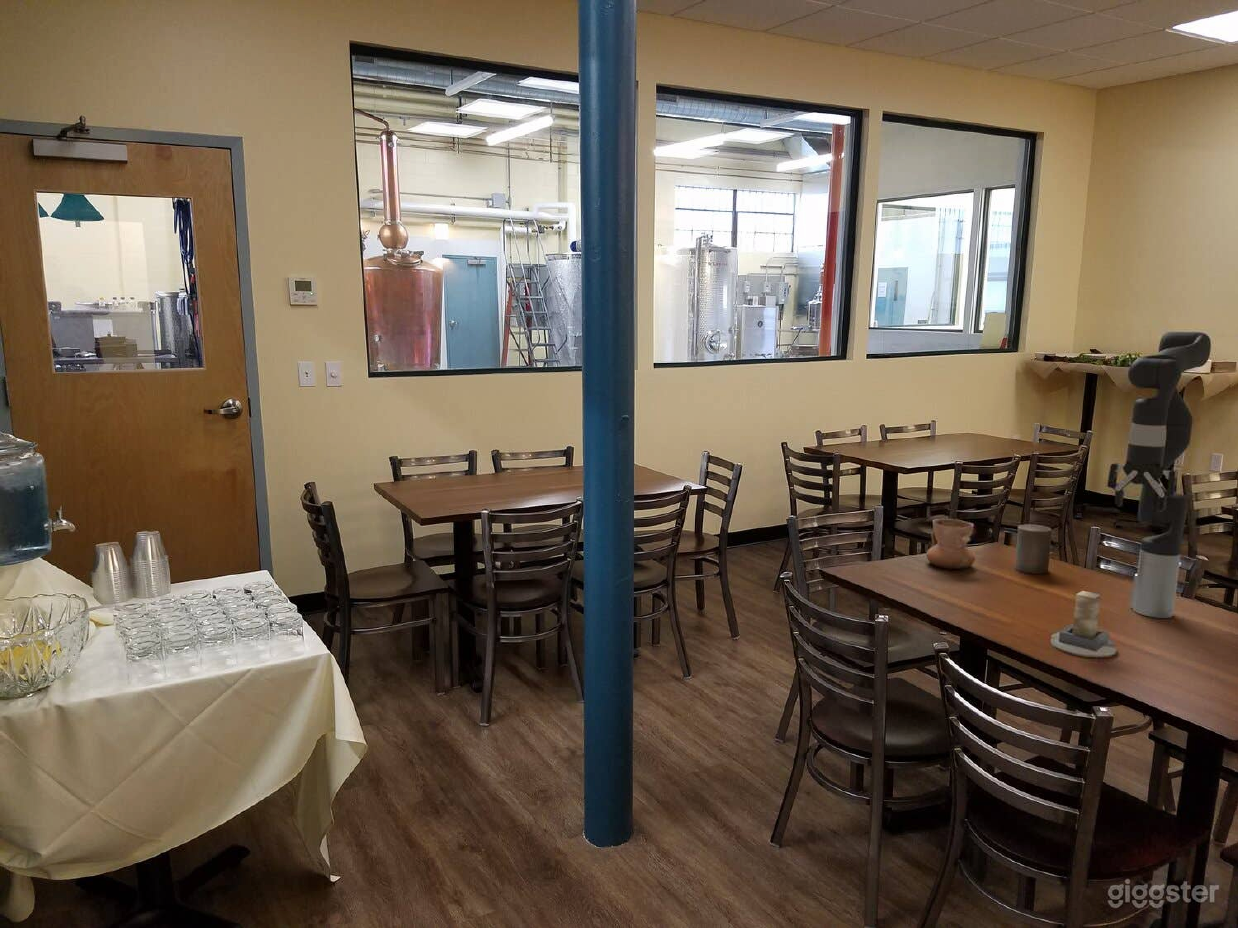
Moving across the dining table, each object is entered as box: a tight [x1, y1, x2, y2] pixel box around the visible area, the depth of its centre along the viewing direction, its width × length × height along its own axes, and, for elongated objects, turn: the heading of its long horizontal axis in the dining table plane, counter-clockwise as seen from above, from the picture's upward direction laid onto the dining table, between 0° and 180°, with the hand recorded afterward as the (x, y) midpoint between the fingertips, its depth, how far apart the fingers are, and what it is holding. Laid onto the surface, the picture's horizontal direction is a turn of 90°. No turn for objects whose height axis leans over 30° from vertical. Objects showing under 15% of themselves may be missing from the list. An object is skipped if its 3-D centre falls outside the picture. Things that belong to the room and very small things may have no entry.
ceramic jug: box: [925, 518, 976, 570], centre depth 275 cm, size 18×14×14 cm
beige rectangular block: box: [1072, 590, 1101, 639], centre depth 208 cm, size 4×4×12 cm
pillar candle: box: [1014, 523, 1053, 575], centre depth 271 cm, size 10×10×15 cm
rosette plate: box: [1050, 623, 1117, 659], centre depth 209 cm, size 14×14×4 cm
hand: (1138, 508), depth 209 cm, fingers open, 8 cm apart
